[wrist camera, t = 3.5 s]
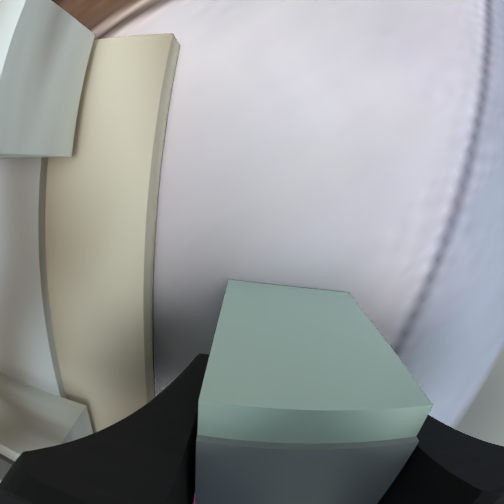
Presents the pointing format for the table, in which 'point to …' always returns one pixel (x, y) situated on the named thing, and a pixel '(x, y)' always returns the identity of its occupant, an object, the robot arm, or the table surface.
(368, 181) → the table surface
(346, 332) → the block
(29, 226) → the board
